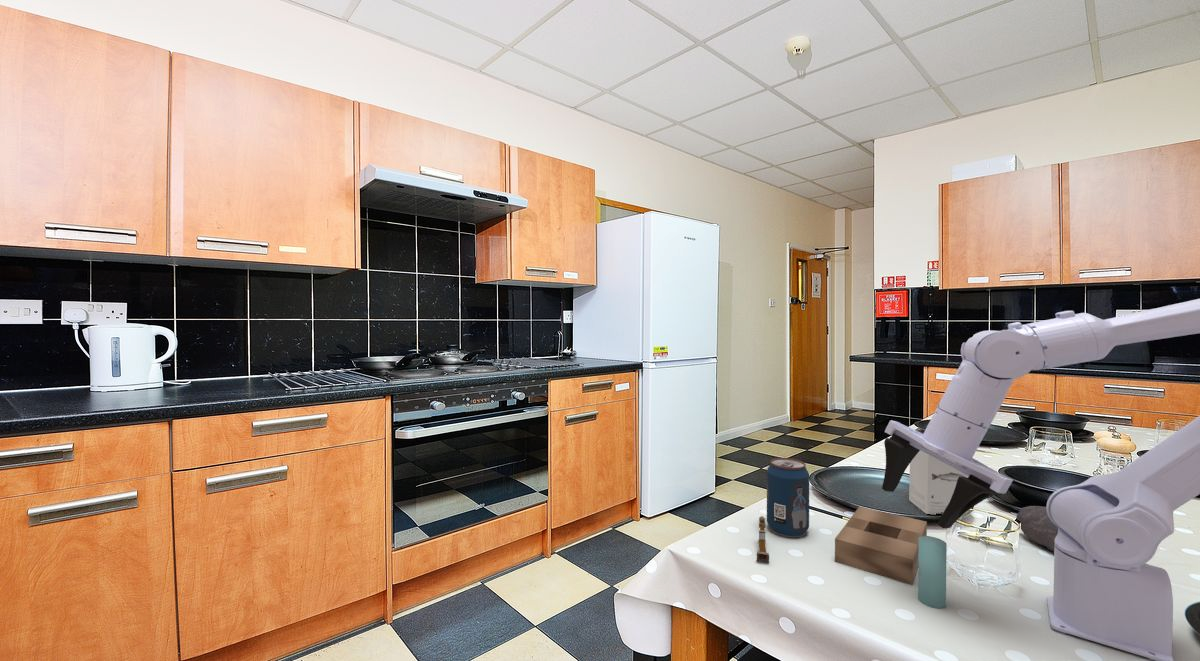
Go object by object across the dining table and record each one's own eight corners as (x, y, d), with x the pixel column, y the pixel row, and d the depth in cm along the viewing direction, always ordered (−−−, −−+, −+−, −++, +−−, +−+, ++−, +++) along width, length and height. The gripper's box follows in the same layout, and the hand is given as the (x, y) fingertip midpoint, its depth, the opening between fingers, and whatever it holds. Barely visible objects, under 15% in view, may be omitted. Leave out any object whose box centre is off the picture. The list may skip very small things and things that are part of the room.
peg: (946, 600, 63) (947, 540, 62) (944, 611, 60) (945, 549, 60) (919, 592, 65) (920, 533, 64) (916, 602, 62) (917, 541, 62)
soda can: (776, 518, 88) (776, 454, 88) (815, 529, 84) (815, 462, 83) (759, 530, 83) (759, 462, 83) (799, 543, 79) (800, 471, 78)
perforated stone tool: (1004, 534, 82) (1004, 493, 82) (1032, 532, 82) (1032, 492, 82) (1105, 582, 67) (1106, 533, 67) (1138, 580, 67) (1139, 531, 67)
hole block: (926, 542, 79) (926, 521, 78) (912, 584, 66) (912, 559, 66) (859, 525, 85) (859, 506, 85) (834, 561, 73) (835, 538, 73)
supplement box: (926, 515, 89) (927, 448, 89) (908, 500, 97) (908, 438, 96) (970, 518, 88) (971, 450, 88) (948, 502, 95) (949, 440, 95)
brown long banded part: (767, 533, 81) (767, 513, 79) (768, 574, 74) (769, 553, 72) (756, 532, 81) (756, 512, 79) (756, 572, 74) (756, 552, 72)
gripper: (892, 389, 66) (850, 474, 68) (1015, 444, 54) (958, 545, 56) (918, 396, 69) (876, 477, 72) (1038, 449, 57) (983, 544, 60)
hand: (914, 507), depth 64 cm, fingers open, 7 cm apart
